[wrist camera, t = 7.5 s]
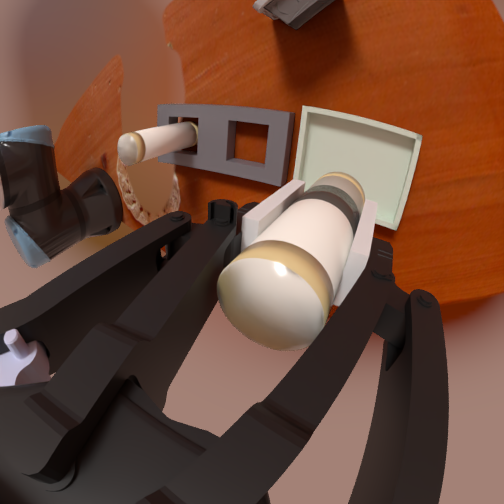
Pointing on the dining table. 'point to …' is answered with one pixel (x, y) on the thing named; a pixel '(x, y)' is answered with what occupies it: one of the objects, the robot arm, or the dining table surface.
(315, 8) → the electrical switch
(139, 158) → the fuse
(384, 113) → the dining table surface
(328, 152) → the parts tray
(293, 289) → the fuse
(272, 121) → the fuse block
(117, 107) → the dining table surface
